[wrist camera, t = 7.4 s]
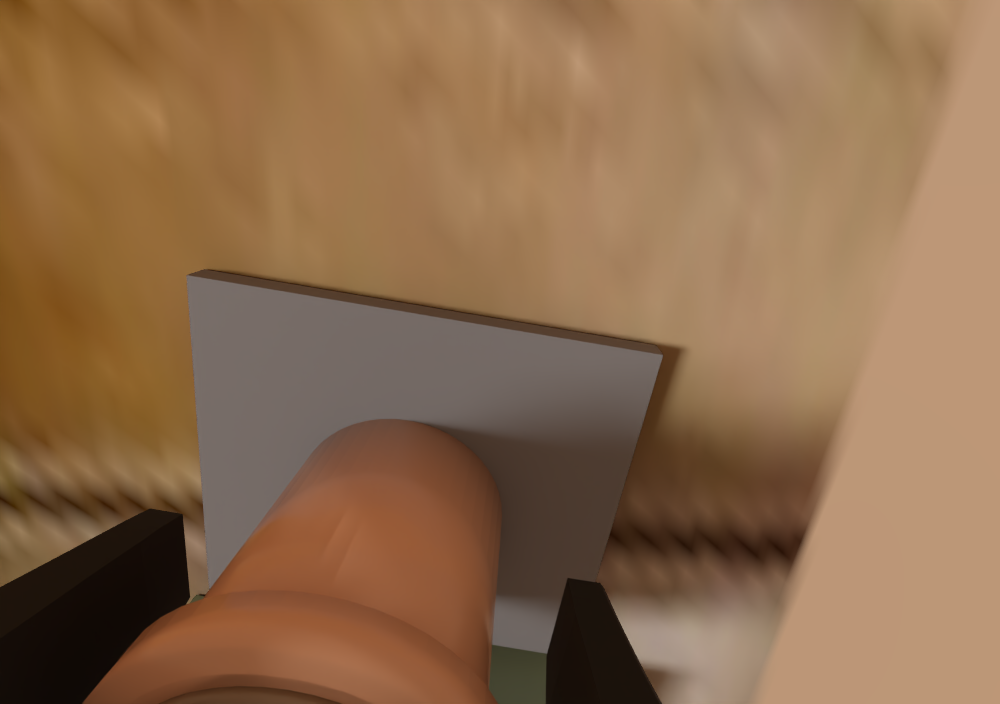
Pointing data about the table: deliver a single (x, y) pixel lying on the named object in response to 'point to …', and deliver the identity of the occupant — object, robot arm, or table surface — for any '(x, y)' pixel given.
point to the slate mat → (420, 418)
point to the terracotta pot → (343, 587)
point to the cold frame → (512, 674)
